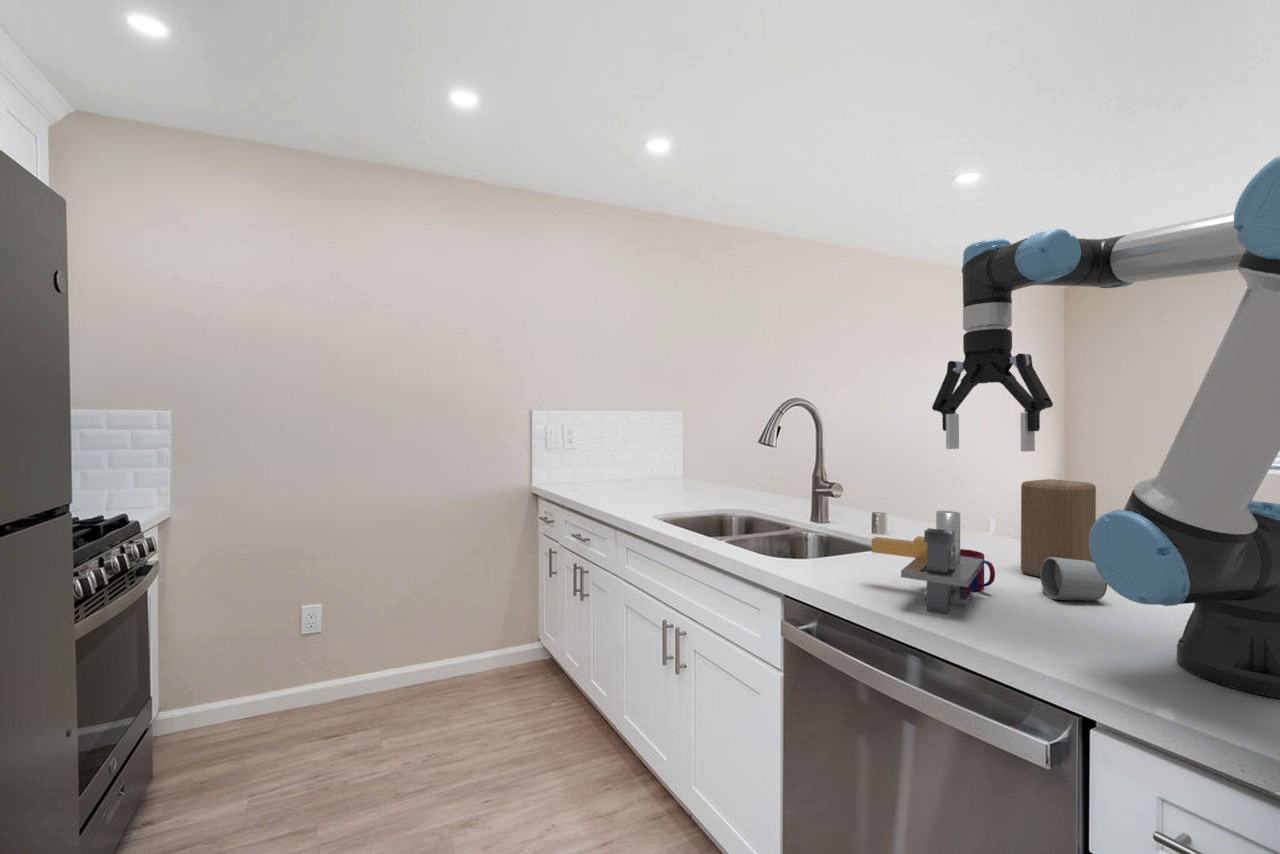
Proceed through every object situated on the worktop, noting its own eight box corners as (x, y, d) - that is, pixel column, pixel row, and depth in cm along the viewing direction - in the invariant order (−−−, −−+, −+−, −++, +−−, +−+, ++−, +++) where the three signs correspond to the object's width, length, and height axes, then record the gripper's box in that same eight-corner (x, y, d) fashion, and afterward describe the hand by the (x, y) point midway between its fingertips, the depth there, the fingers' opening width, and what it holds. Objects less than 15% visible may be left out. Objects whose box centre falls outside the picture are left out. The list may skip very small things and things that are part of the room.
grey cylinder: (1111, 606, 107) (1110, 563, 107) (1061, 604, 107) (1061, 562, 107) (1074, 590, 117) (1074, 550, 117) (1030, 588, 118) (1029, 550, 118)
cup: (967, 581, 123) (967, 548, 123) (1005, 595, 113) (1005, 559, 113) (938, 582, 122) (938, 549, 122) (974, 597, 112) (974, 561, 112)
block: (1018, 573, 129) (1019, 480, 128) (1047, 568, 133) (1047, 478, 132) (1068, 585, 120) (1069, 485, 119) (1097, 579, 124) (1098, 483, 123)
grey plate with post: (880, 579, 124) (880, 503, 124) (983, 595, 113) (984, 511, 113) (853, 601, 110) (853, 514, 110) (967, 622, 99) (967, 525, 99)
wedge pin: (953, 610, 105) (954, 531, 105) (949, 615, 102) (951, 534, 102) (927, 605, 108) (928, 528, 107) (923, 610, 105) (924, 530, 105)
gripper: (1076, 321, 97) (1077, 451, 97) (937, 340, 119) (938, 447, 119) (1050, 317, 93) (1051, 453, 94) (912, 338, 116) (913, 448, 116)
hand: (988, 450), depth 106 cm, fingers open, 13 cm apart
